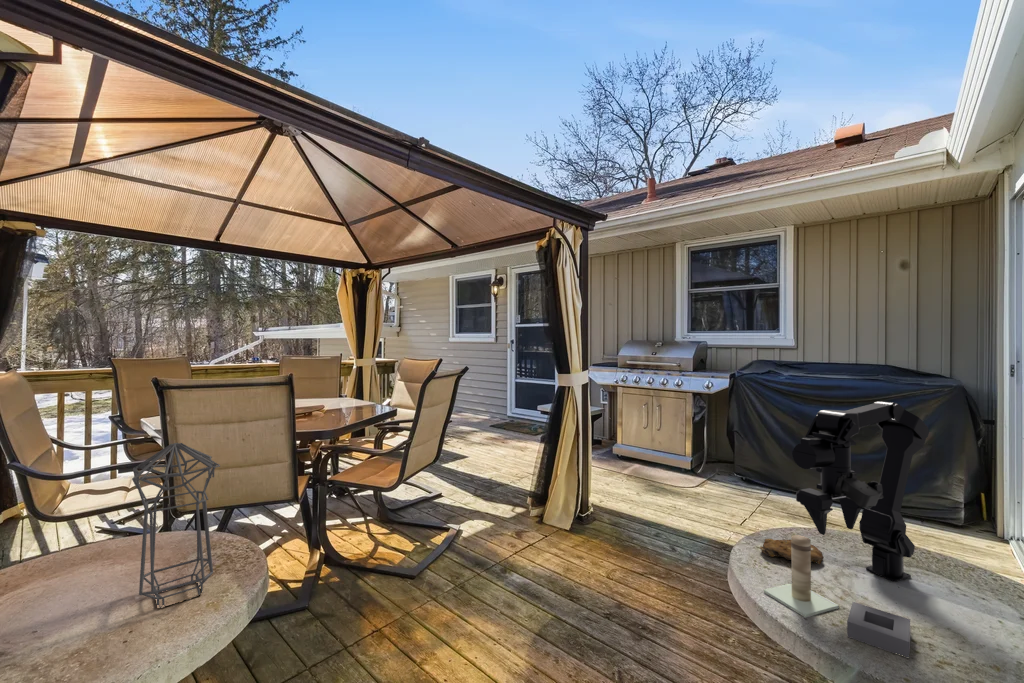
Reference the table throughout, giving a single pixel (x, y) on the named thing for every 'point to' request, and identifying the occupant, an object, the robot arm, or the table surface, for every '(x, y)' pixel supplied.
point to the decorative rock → (787, 550)
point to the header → (879, 629)
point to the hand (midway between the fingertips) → (836, 531)
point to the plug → (801, 567)
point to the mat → (801, 607)
